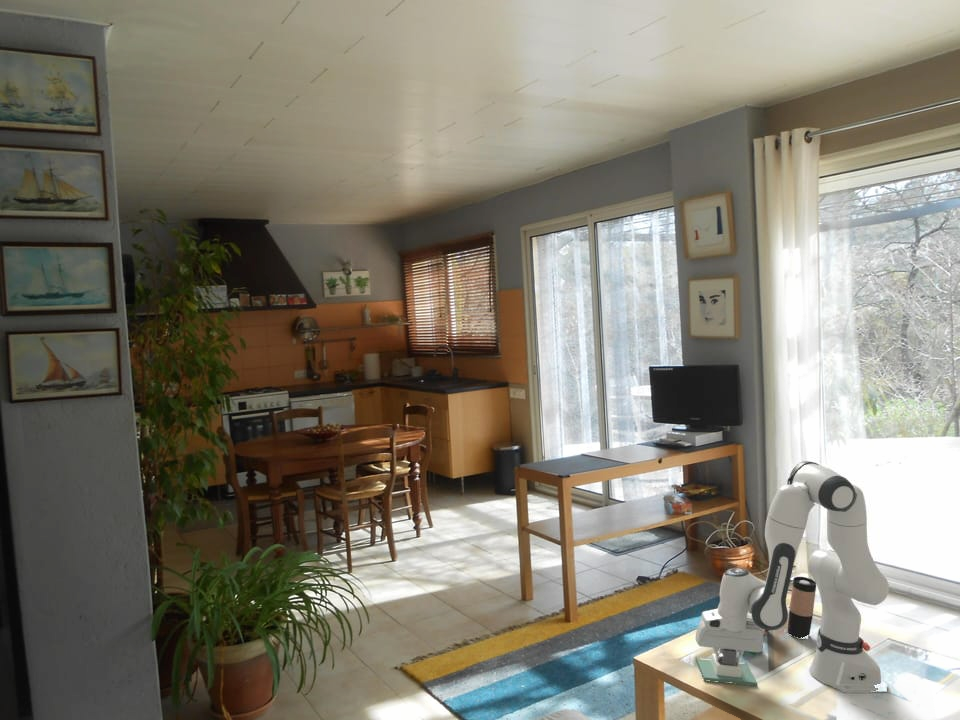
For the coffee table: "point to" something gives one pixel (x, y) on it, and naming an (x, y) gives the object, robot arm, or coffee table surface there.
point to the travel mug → (801, 606)
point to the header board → (725, 671)
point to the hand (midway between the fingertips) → (726, 660)
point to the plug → (728, 657)
